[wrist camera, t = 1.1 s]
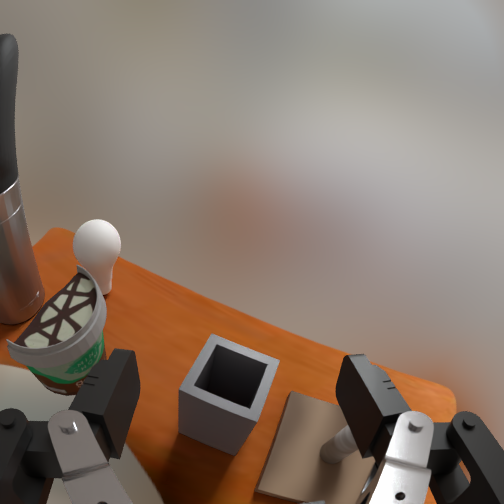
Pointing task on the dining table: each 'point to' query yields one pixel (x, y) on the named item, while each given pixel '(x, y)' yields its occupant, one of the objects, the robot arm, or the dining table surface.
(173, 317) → the dining table surface
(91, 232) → the lightbulb
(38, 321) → the food container
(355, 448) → the post stand
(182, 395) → the sleeve
